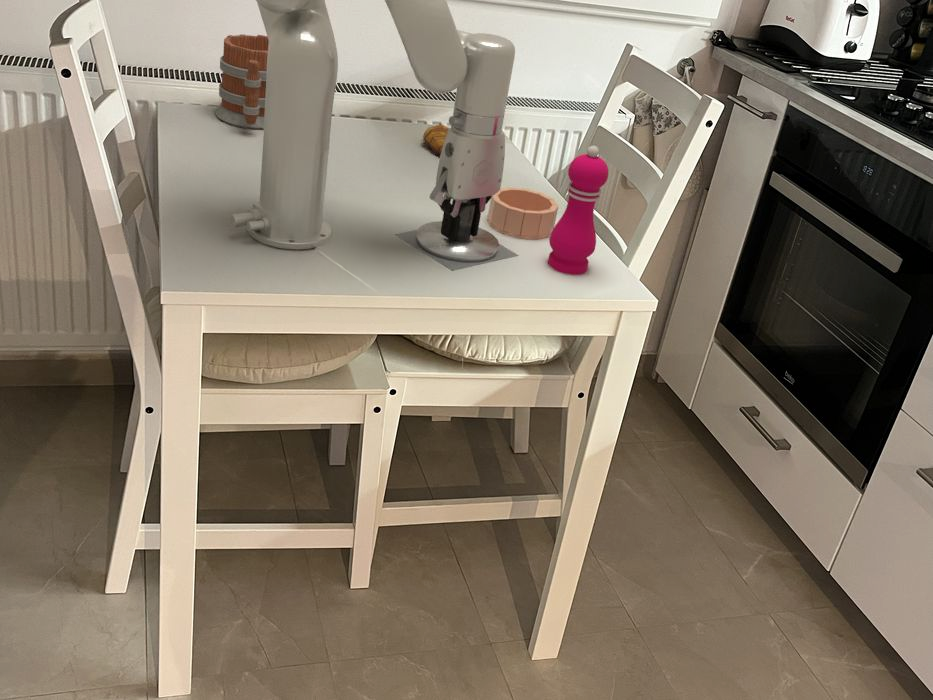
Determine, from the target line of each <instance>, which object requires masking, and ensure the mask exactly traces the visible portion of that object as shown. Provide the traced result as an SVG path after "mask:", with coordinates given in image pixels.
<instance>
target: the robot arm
mask: <svg viewBox="0 0 933 700" xmlns="http://www.w3.org/2000/svg"><path fill="white" fill-rule="evenodd" d="M255 1H256V2H257V7H258V9H259V12H260V17H261V19H262V22H263V23H262V24H263V27H264V30H265V32H266V36H267V37H268V40H269V44H268V55H267V71H266V95H265V112H264V129H262V130H263V136H262V137H263V138H262V151H261V152H262V153H261V155H262V156H261V171H260V172H261V173H260V186H259V187H260V188H259V201H256V202H253V203H252V209H249V210H248V211H246V212H240V213H239V212H238V213H233V214H230V215H229V217H228V223H229V225H230V227H231V228H239V227H244V226H245V228H246V230H247V232H248V234H249V235H250V237H252V238H253V239H254V240H256V241H258V242H259V243H262V244H264V245H267V246H270V247H274V248H279V249H285V250H310V249H313V248H314V249H315V248H317V247H320V246H322V245H325V244H327V243H328V242H329V241H330V240H331V238H332V231H333V230H332V226H330V224H329V223H328V222H327V221H325V220H324V219H323V217H324V208H325V207H324V204H325V197H326V195H325V194H326V182H327V174H328V163H329V162H328V161H329V153H330V142H331V140H330V139H331V128H332V117H333V116H332V115H333V108H334V99H335V94H336V93H335V92H336V87H337V79H338V70H339V55H338V49H337V48H338V47H337V45H336V44H337V43H336V40H335V34H334V31H333V27H332V23H331V19H330V16H329V12H328V8H327V5H326V1H325V0H255ZM384 3H385V4H386V6H387V9H388V10H389V13H390V15H391V17H392V19H393V22H394V25H395V29H397V30H396V31H397V33H398V35H399V37H400V40H401V42H402V46H403V47H404V50H405V53H406V55H407V56H406V57H407V59H408V62H409V64H410V67H411V69H412V71H413V74H414V77H415V78H416V79H415V80H416V81H417V82H418V83H419V85H420V86H421V87H422V88H424V89H425V90H426V91H428V92H431V93H433V94H440V95H441V94H448V93H451V92H453V91H454V90H455V91H456V92H455V98H454V104H453V111H452V113H453V114H452V115H451V116H449V118H448V123H449V126H450V127H448V128H449V129H448V132H447V135H446V138H445V141H444V144H443V148H442V151H441V155H440V156H439V160H438V165H437V172H436V178H435V186H434V187H433V189H432V191H431V193H430V194H429V199H430V200H431V201H433V202H434V203H436V204H437V206H438V207H440V210H441V211H442V212H443V213H442V214H443V215H442V220H441V221H442V226H441V234H442V235H444V236H445V237H447V238H449V239H450V240H452V241H454V240H456V239H457V234H458V228H459V222H460V217H459V216H457V215H458V212H459V208H460V204H461V201H462V200H469V199H470V200H472V201H474V202H475V203H476V205H475V211H474V216H473V222H472V228H471V234H470V235H472V236H477V233H478V228H480V227H479V226H480V223H481V222H480V221H481V216H482V215H481V214H482V213H483V212H485V210H486V206H487V204H488V203H489V202H490V201H491V197H492V196H494V195H495V194H496V193H497V192H499V190H500V189H501V186H502V182H503V174H504V166H505V156H506V155H505V154H506V136H505V134H506V133H505V131H503V123H504V120H505V119H504V118H505V113H506V109H507V107H506V106H507V102H508V96H509V89H510V84H511V79H512V73H513V67H514V62H515V56H516V47H515V45H514V43H513V42H512V41H511V40H509V39H508V38H505V37H504V36H501V35H495V34H491V33H485V32H483V33H480V32H479V33H478V32H477V33H471V32H467V31H464V30H459V29H457V27H456V24H455V21H454V18H453V15H452V13H451V10H450V7H449V5H448V4H449V3H448V2H447V0H384ZM451 201H453V204H452V202H451Z"/></svg>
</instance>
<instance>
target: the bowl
mask: <svg viewBox="0 0 933 700" xmlns="http://www.w3.org/2000/svg"><path fill="white" fill-rule="evenodd" d="M558 210H559V204H558V203H557V201H556V200H555V199H554V198H552V197H550V196H548V194H547V195H546V194H544V193H542V192H539V191H536V190H532V189H528V188H520V187H519V188H518V187H503V188H500V190H499V192H497V193H496V194H495V195H494V196H492V197H491V199H490V200H489V208H488V214H487V222H488V224H489V226H490V227H491V228H492V229H493V230H495V231H496V232H498V233H500V234H502V235H506V236H508V237H512V238H515V239H516V238H517V239H520V240H521V239H522V240H532V241H533V240H541V239H546V238H550V236H551V233H552V231H553V229H554V227H555V225H556V220H557V215H558Z"/></svg>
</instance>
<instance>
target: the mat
mask: <svg viewBox="0 0 933 700" xmlns="http://www.w3.org/2000/svg"><path fill="white" fill-rule="evenodd" d="M417 231H418V229H416V230H411V231H405V232H400V233H399V232H398V233H395V236H396V237H398V238H400V239H401V240H403V241H404V242H406V243H408V244H410V245H411V246H412V247H414V248H416V249H417V250H419V251H420V252H422V253H423V254H425V255H426V256H428V257H430V258H431V259H433V260H434V261H436V262H438V263H439V264H440V265H442V266H444V267H445V268H448V270H450V271H452V272H453V271H457V270H462V269H467V268H471V267H475V266H480V265H484V264H488V263H493V262H497V261H498V262H499V261H502V260H506V259H510V258H514V257H515V258H516V257H519V254H517V253H516V252H514V251H512V250H511V249H509V248H507V247H505V246H503V245H501V244H500V243H499V247H498V252H497V255H496V256H495V257H494V258H492V259H490V260H488V261H484V262H476V263H464V262H455V261H450V260H446V259H442V258H439V257H436V256H434V255H431V254H429V253H428V252H426V251H424V250H423V249H422V248H421V247H419V245H418V244H417V241H416V237H417Z"/></svg>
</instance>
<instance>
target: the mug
mask: <svg viewBox="0 0 933 700" xmlns="http://www.w3.org/2000/svg"><path fill="white" fill-rule="evenodd" d="M268 44H269V40H268V37H267V35H261V34H257V35H252V34H251V35H247V34H238V35H237V34H236V35H231V34H228V35H227V36H226V37H224V39H223V55H221V56H220V58H219V59H220V60H219V69H220V71H222V80H221V82H220V83H219V86H218V87H219V88H218V96H219V97H220V98H221V103H220V104H219V106H218V108H217V109H216V111H215V114H216V116H217V117H218V119H219V120H221V121H222V122H224V123H226V124H227V125H230V126H234V127H238V128H242V129H250V130H263V129H264V112H265V95H266V71H267V55H268Z"/></svg>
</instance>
